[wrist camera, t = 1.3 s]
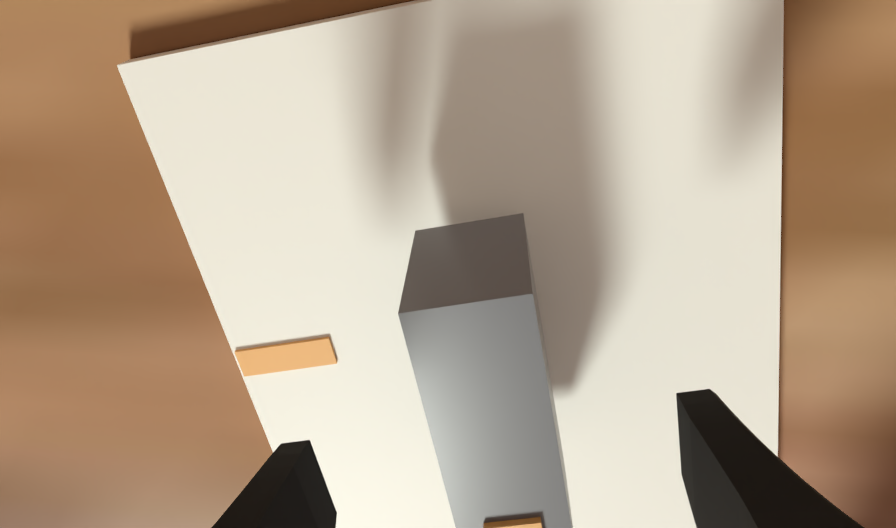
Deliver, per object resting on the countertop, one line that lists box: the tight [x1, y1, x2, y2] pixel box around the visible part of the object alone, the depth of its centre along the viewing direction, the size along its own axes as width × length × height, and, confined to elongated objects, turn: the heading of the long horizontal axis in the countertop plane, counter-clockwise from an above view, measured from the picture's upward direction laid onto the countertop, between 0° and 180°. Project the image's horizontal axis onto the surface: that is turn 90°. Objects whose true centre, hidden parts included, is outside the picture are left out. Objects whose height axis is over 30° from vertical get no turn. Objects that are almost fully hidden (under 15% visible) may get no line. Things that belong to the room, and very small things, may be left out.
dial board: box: [117, 0, 784, 528], centre depth 18 cm, size 16×14×1 cm
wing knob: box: [398, 213, 573, 528], centre depth 16 cm, size 7×2×5 cm, turn 11°
